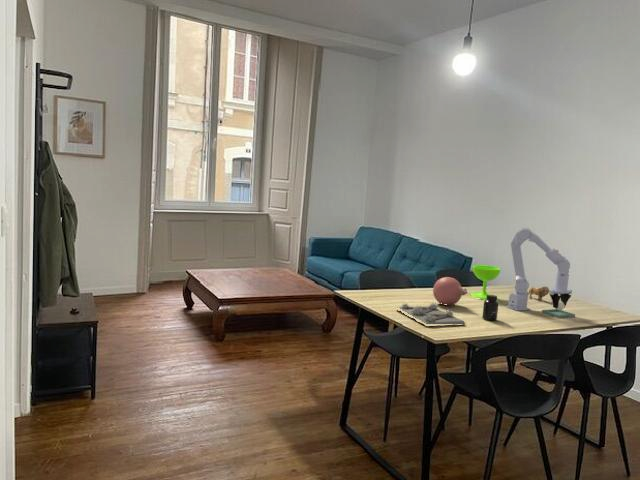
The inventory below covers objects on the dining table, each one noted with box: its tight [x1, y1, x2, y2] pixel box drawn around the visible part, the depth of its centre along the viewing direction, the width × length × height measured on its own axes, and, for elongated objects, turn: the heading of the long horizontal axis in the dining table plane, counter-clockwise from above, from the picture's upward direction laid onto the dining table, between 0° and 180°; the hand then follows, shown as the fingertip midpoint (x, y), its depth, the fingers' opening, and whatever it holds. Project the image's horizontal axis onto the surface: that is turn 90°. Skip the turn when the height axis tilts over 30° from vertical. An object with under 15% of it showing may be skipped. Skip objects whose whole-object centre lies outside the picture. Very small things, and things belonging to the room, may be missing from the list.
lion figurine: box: [528, 286, 550, 302], centre depth 298 cm, size 15×5×9 cm, turn 34°
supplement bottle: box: [482, 294, 499, 322], centre depth 245 cm, size 7×7×12 cm
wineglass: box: [470, 264, 502, 301], centre depth 296 cm, size 16×16×18 cm
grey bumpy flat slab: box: [398, 301, 466, 325], centre depth 242 cm, size 30×22×7 cm
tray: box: [541, 308, 576, 319], centre depth 264 cm, size 11×11×1 cm
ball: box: [554, 300, 566, 310], centre depth 263 cm, size 5×5×5 cm
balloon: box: [432, 276, 468, 306], centre depth 269 cm, size 15×20×15 cm
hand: (559, 307), depth 264 cm, fingers closed on ball, 5 cm apart
